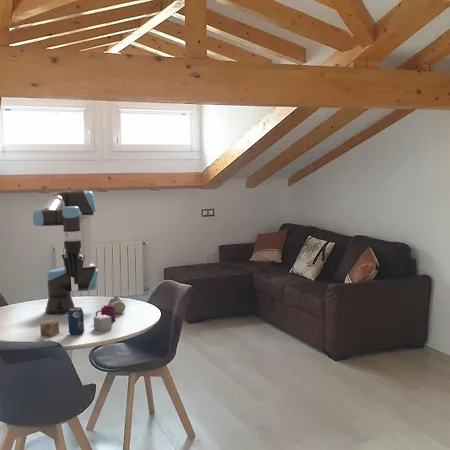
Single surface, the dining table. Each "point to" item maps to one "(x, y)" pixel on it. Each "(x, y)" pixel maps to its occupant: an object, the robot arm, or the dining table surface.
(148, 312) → the dining table surface
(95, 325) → the slate numbered block
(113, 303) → the ceramic sculpture
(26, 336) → the dining table surface
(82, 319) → the soda can
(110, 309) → the mug
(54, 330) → the walnut numbered block
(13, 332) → the dining table surface
